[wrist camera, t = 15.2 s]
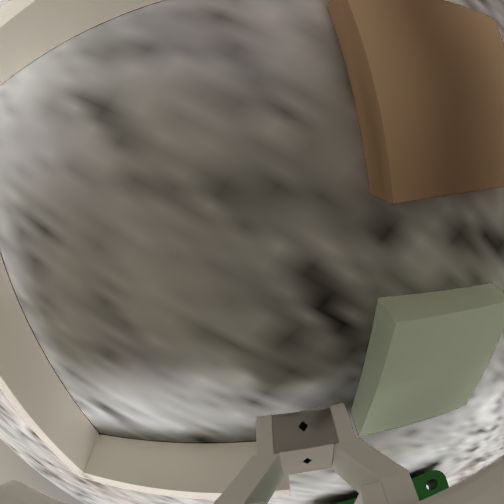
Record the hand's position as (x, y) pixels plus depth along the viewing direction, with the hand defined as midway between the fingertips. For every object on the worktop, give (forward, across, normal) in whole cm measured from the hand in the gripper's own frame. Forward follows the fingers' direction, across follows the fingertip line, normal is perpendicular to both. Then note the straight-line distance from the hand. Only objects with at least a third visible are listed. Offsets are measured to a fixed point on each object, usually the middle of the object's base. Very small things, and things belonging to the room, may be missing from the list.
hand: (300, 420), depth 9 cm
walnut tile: (+2, -6, -10) cm, 12 cm away
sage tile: (+2, -6, 0) cm, 6 cm away
